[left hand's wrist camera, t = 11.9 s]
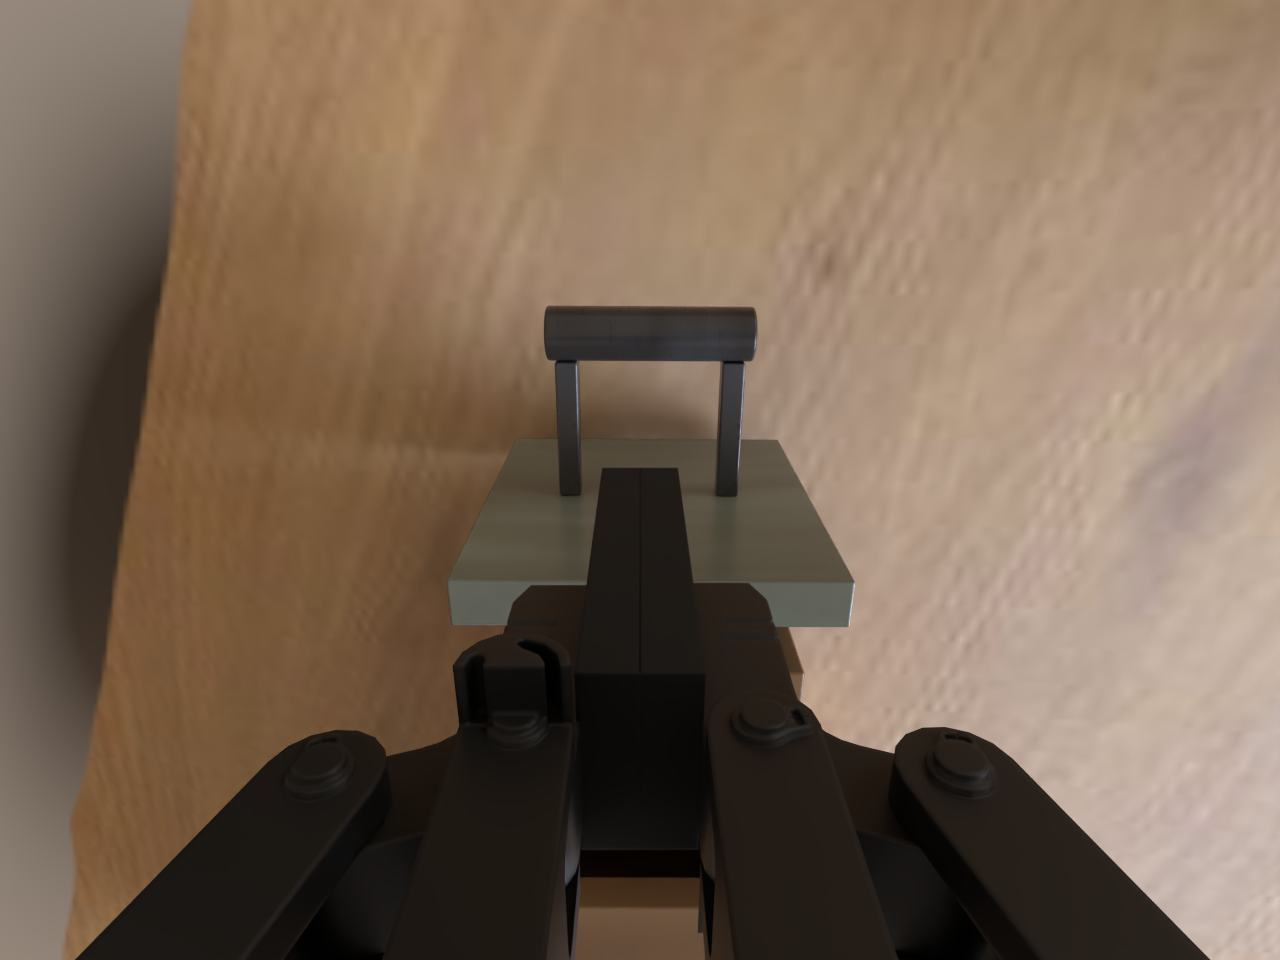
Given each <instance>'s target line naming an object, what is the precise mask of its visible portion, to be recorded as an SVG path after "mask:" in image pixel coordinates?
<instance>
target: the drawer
mask: <svg viewBox="0 0 1280 960" xmlns="http://www.w3.org/2000/svg"><path fill="white" fill-rule="evenodd" d="M544 344H545V352H546V356H547V359H548V360H557V361H556V363H555V382H556V408H557V434H558V439H516V440H515V442H514V444H513V446H512V448H511V450H510V452H509V454H508V457H507V459H506V461H505V463H504V465H503V467H502V469H501V471H500V473H499V475H498V477H497V479H496V481H495V483H494V485H493V487H492V489H491V491H490V493H489V495H488V497H487V499H486V501H485V503H484V505H483V508H482V510H481V512H480V514H479V516H478V518H477V520H476V522H475V524H474V526H473V528H472V530H471V532H470V534H469V536H468V538H467V540H466V542H465V544H464V546H463V548H462V550H461V552H460V554H459V556H458V558H457V561H456V563H455V565H454V567H453V569H452V571H451V573H450V575H449V577H448V579H447V589H448V599H449V608H450V618H451V624H452V625H495V626H507V621H508V617H509V614H510V611H511V607H512V604H513V602H514V601H515V600H516V599H517V598H518V597H519V596H520V595H521V594H522V593H523V592H524V591H525V590H526V589H528V588H529V587H530V586H531V585H586V583H587V576H588V568H589V561H590V554H591V546H592V539H593V531H594V524H595V516H596V509H597V502H598V494H599V487H600V479H601V472H602V468H678V472H679V479H680V487H681V494H682V502H683V509H684V516H685V524H686V531H687V539H688V546H689V554H690V561H691V568H692V576H693V583H750V584H751V585H752V586H753V587H754V588H755V589H756V590H757V591H758V592H759V593H760V594H761V595H762V596H764V597H765V598H766V599H767V601H768V605H769V608H770V611H771V614H772V618H773V623H774V624H775V627H776V631H777V634H778V640H780V644H781V647H782V650H783V653H784V657H785V660H786V663H787V666H788V670H789V673H790V676H791V680H792V683H793V686H794V689H795V693H796V696H797V699H798V700H799V701H800V702H802V693H803V684H804V675H805V674H804V671H803V668H802V665H801V662H800V659H799V656H798V653H797V650H796V647H795V644H794V641H793V638H792V635H791V632H790V629H789V627H849V625H850V619H851V611H852V604H853V596H854V588H855V581H854V579H853V577H852V576H851V574H850V572H849V570H848V568H847V566H846V565H845V563H844V561H843V559H842V557H841V555H840V554H839V552H838V550H837V548H836V546H835V544H834V542H833V541H832V539H831V537H830V535H829V533H828V531H827V530H826V528H825V526H824V524H823V522H822V520H821V519H820V517H819V515H818V513H817V511H816V509H815V508H814V506H813V504H812V502H811V500H810V498H809V497H808V495H807V493H806V491H805V489H804V487H803V486H802V484H801V482H800V480H799V478H798V476H797V475H796V473H795V471H794V469H793V467H792V465H791V464H790V462H789V460H788V458H787V456H786V454H785V453H784V451H783V449H782V447H781V445H780V443H779V442H778V440H741V429H742V412H743V396H744V379H745V363H744V361H747V362H750V361H752V360H753V358H754V356H755V352H756V345H757V315H756V311H755V309H754V308H753V307H671V306H548V307H547V308H546V310H545V316H544ZM579 361H721V363H720V385H719V406H718V427H717V440H694V439H581V418H580V379H579ZM579 864H580V877H683V878H700V864H701V853H700V842H699V850H581V845H580V856H579Z"/></svg>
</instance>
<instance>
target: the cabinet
mask: <svg viewBox="0 0 1280 960" xmlns="http://www.w3.org/2000/svg"><path fill="white" fill-rule="evenodd" d="M580 888H581V890H580V902H579V914H578V927H577V939H576V951H575V960H705V950H704V938H703V933H698V912H699V888H700V878H683V877H580Z"/></svg>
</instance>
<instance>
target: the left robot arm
mask: <svg viewBox="0 0 1280 960" xmlns="http://www.w3.org/2000/svg"><path fill="white" fill-rule="evenodd" d="M453 673H454V682H455V690H456V699H457V708H458V716H459V728H458V731H457V733H456V734H455V735H453V736H451V737H449V738H447V739H445V740H443V741H441V742H439V743H437V744H433V745H430V746H427V747H424V748H421V749H416V750H412V751H408V752H404V753H400V754H395V755H391V756H387V757H386V753H385V749H384V748H383V747H382V745H381V744H380V743H379V742H378V741H377V739H376V738H375V737H372V736H370V735H367V734H365V733H362V732H359V731H346V730H334V731H330V732H325V733H321V734H316V735H312V736H309V737H307V738H305V739H303V740H301V741H299V742H296V743H294V744H292V745H290V746H288V747H287V748H285V749H284V750H283V751H282V752H280V753H279V754H278V755H276V756H275V757H274V758H273V759H271V760H270V761H269V762H268V763H267V764H266V765H265V766H264V767H263V768H262V769H261V770H260V771H259V772H258V773H257V774H256V775H255V776H254V777H253V778H252V779H251V780H250V781H249V782H248V783H247V784H246V785H245V786H244V787H243V788H242V789H241V790H240V791H239V792H238V793H237V794H236V795H235V796H234V797H233V799H232V800H231V801H230V802H229V803H228V804H227V805H226V806H225V807H224V808H223V809H222V810H221V811H220V812H219V813H218V814H217V815H216V816H215V817H214V818H213V819H212V820H211V821H210V822H209V823H208V824H207V825H206V826H205V827H204V828H203V829H202V830H201V831H200V832H199V833H198V834H197V835H196V836H195V837H194V838H193V839H192V841H191V842H190V843H189V844H188V845H187V846H186V847H185V848H184V849H183V850H182V851H181V852H180V853H179V854H178V855H177V856H176V857H175V858H174V859H173V860H172V861H171V862H170V863H169V864H168V865H167V866H166V867H165V868H164V869H163V870H162V871H161V872H160V873H159V874H158V875H157V876H156V877H155V878H154V879H153V880H152V881H151V883H150V884H149V885H148V886H147V887H146V888H145V889H144V890H143V891H142V892H141V893H140V894H139V895H138V896H137V897H136V898H135V899H134V900H133V901H132V902H131V903H130V904H129V905H128V906H127V907H126V908H125V909H124V910H123V911H122V912H121V913H120V914H119V915H118V916H117V917H116V918H115V919H114V920H113V921H112V922H111V923H110V925H109V926H108V927H107V928H106V929H105V930H104V931H103V932H102V933H101V934H100V935H99V936H98V937H97V938H96V939H95V940H94V941H93V942H92V943H91V944H90V945H89V946H88V947H87V948H86V949H85V950H84V951H83V952H82V953H81V954H80V955H79V956H78V957H77V958H76V959H75V960H575V951H576V939H577V927H578V914H579V902H580V890H581V888H580V864H579V856H580V845H581V850H699V842H700V853H701V864H700V888H699V912H698V933H703V938H704V950H705V960H1210V959H1209V958H1208V957H1207V956H1206V955H1205V954H1204V953H1203V952H1202V951H1201V950H1200V949H1199V948H1198V947H1197V946H1196V945H1195V944H1194V943H1193V942H1192V941H1191V940H1190V939H1189V938H1188V937H1187V936H1186V935H1185V934H1184V933H1183V932H1182V931H1181V930H1180V929H1179V928H1178V927H1177V926H1176V925H1175V924H1174V922H1173V921H1172V920H1171V919H1170V918H1169V917H1168V916H1167V915H1166V914H1165V913H1164V912H1163V911H1162V910H1161V909H1160V908H1159V907H1158V906H1157V905H1156V904H1155V903H1154V902H1153V901H1152V900H1151V899H1150V898H1149V897H1148V896H1147V895H1146V894H1145V893H1144V892H1143V891H1142V890H1141V889H1140V888H1139V887H1138V886H1137V885H1136V884H1135V883H1134V882H1133V881H1132V880H1131V879H1130V878H1129V877H1128V876H1127V875H1126V874H1125V873H1124V872H1123V871H1122V870H1121V869H1120V868H1119V867H1118V866H1117V864H1116V863H1115V862H1114V861H1113V860H1112V859H1111V858H1110V857H1109V856H1108V855H1107V854H1106V853H1105V852H1104V851H1103V850H1102V849H1101V848H1100V847H1099V846H1098V845H1097V844H1096V843H1095V842H1094V841H1093V840H1092V839H1091V838H1090V837H1089V836H1088V835H1087V834H1086V833H1085V832H1084V831H1083V830H1082V829H1081V828H1080V827H1079V826H1078V825H1077V824H1076V823H1075V822H1074V821H1073V820H1072V819H1071V818H1070V817H1069V816H1068V815H1067V814H1066V813H1065V812H1064V811H1063V810H1062V809H1061V808H1060V807H1059V805H1058V804H1057V803H1056V802H1055V801H1054V800H1053V799H1052V798H1051V797H1050V796H1049V795H1048V794H1047V793H1046V792H1045V791H1044V790H1043V789H1042V788H1041V787H1040V786H1039V785H1038V784H1037V783H1036V782H1035V781H1034V780H1033V779H1032V778H1031V777H1030V776H1029V775H1028V774H1027V773H1026V772H1025V771H1024V770H1023V769H1022V768H1021V767H1020V766H1019V765H1018V764H1017V763H1016V762H1015V761H1014V760H1013V759H1012V758H1011V757H1010V756H1008V755H1007V754H1006V753H1005V752H1003V751H1002V750H1001V749H999V748H998V747H997V746H996V745H994V744H993V743H991V742H989V741H987V740H984V739H982V738H980V737H978V736H976V735H974V734H971V733H969V732H965V731H960V730H956V729H951V728H947V727H932V728H921V729H918V730H916V731H913V732H910V733H908V734H905V736H904V737H903V738H902V739H901V740H900V742H899V743H898V744H897V745H896V747H895V753H894V754H893V753H889V752H885V751H880V750H876V749H872V748H868V747H863V746H859V745H856V744H853V743H850V742H847V741H843V740H841V739H839V738H837V737H835V736H833V735H831V734H829V733H827V732H825V731H824V730H822V727H821V724H820V723H819V721H818V720H817V718H816V716H815V715H814V713H813V712H812V710H811V709H810V708H808V707H807V706H806V705H804V704H803V703H802V702H800V701H799V700H798V699H797V696H796V693H795V689H794V686H793V683H792V680H791V676H790V673H789V670H788V666H787V663H786V660H785V657H784V653H783V650H782V647H781V644H780V640H778V634H777V631H776V627H775V624H774V623H773V618H772V614H771V611H770V608H769V605H768V601H767V599H766V598H765V597H764V596H762V595H761V594H760V593H759V592H758V591H757V590H756V589H755V588H754V587H753V586H752V585H751V584H750V583H693V576H692V568H691V561H690V554H689V546H688V539H687V531H686V524H685V516H684V509H683V502H682V494H681V487H680V479H679V472H678V468H602V472H601V479H600V487H599V494H598V502H597V509H596V516H595V524H594V531H593V539H592V546H591V554H590V561H589V568H588V576H587V583H586V585H531V586H530V587H529V588H528V589H526V590H525V591H524V592H523V593H522V594H521V595H520V596H519V597H518V598H517V599H516V600H515V601H514V602H513V604H512V607H511V611H510V614H509V617H508V621H507V626H506V627H505V630H504V634H501V635H497V636H494V637H491V638H488V639H485V640H482V641H479V642H477V643H476V644H474V645H473V646H471V647H470V648H468V649H467V650H465V651H464V652H462V654H461V655H460V656H459V658H458V659H457V661H456V662H455V663H454V665H453Z"/></svg>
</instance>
